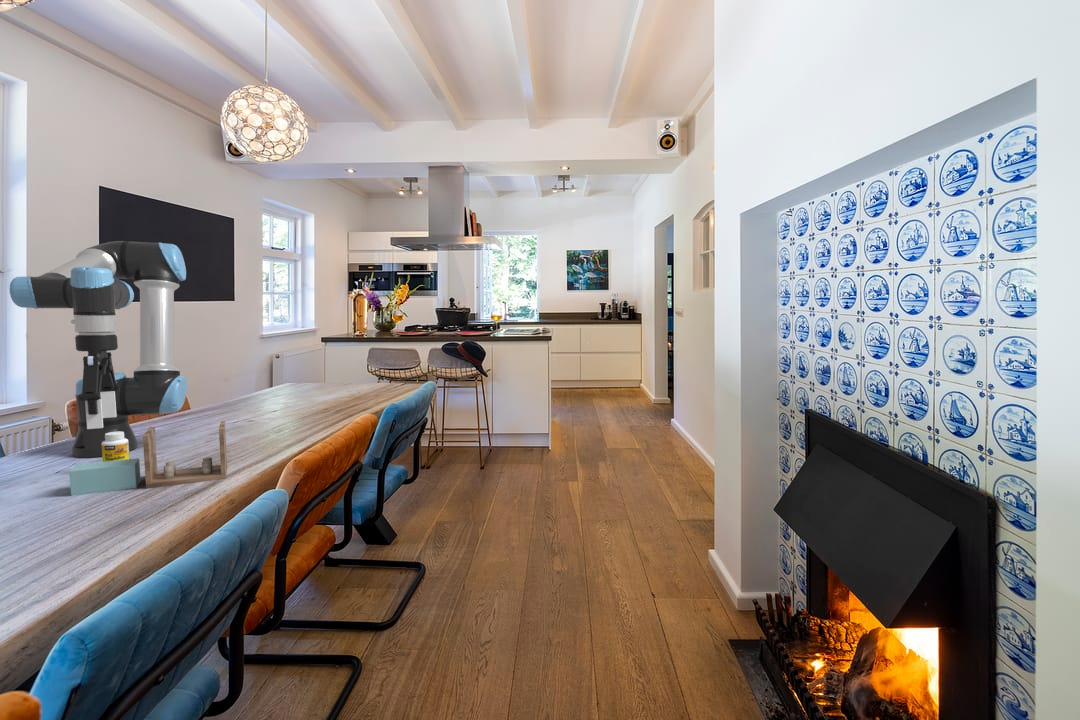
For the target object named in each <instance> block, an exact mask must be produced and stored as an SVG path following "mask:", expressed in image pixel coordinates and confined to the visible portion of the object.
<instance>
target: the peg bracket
mask: <svg viewBox="0 0 1080 720" xmlns="http://www.w3.org/2000/svg"><path fill="white" fill-rule="evenodd" d="M155 429H156V427H155V426H151V427H149V428H147V430H146V431H145V433H144V434H143V435H142V446H143V459H144V475H145V476H144V477H145V489H153V488H154V489H155V488H161V487H169V486H176V485H183V484H184V485H185V484H192V483H193V484H194V483H199V482H207V481H215V480H223V479H226V478H227V474H228V473H227V472H228V451H227V433H226V432H227V431H226V421H225V420H222V421H220V423H219V427H218V436H219V437H218V438H219V440H218V441H219V457H220V460H219V461H220V464H217V465H213V457H211V456H210V457H204V458H202V462H201V467H194V468H193V467H192V468H185V469H176V461H168V462H165V465H164V466H163V471H158V460H157V459H158V458H157V457H158V456H157V443H156V441H157V440H156V430H155Z"/></svg>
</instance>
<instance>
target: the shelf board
mask: <svg viewBox="0 0 1080 720" xmlns="http://www.w3.org/2000/svg"><path fill="white" fill-rule="evenodd" d="M140 465H141V464H140V458H139V457H137V458H129V459H126V460H117V461H107V462H103V461H100V462H89V463H79V464H76V465H74V467H72V468H71V469H70V470H69V472H68V473H69V484H70V496H71V497H73V496H74V497H75V496H81V495H89V494H91V495H92V494H98V493H106V492H113V491H114V492H115V491H122V490H128V489H135V488H137V487H138V485H139V484H140V482H141V480H142V479H141V478H142V477H141V466H140Z"/></svg>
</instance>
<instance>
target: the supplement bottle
mask: <svg viewBox="0 0 1080 720" xmlns="http://www.w3.org/2000/svg"><path fill="white" fill-rule="evenodd" d="M101 457H102V462H107V461H117V460H126V459H130V451H129V443H128V439H126V438H124V432H121V431H118V432H110V433H106V434H105V441H103V442H102V456H101Z"/></svg>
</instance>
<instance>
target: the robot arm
mask: <svg viewBox="0 0 1080 720" xmlns="http://www.w3.org/2000/svg"><path fill="white" fill-rule="evenodd" d="M120 279H123V280H133V285H135V287H137V288H138V289H139V366H137V368H136V369H134V370H133V377H127V375H126V373H125V372H117V373H116V372H115V370H114V366H113V365H114V364H113V360H112V353H111V352H110V351H116V350H118V348H119V345H118V335H117V334H115V333H117V331H118V327H117V326H118V325H117V316H116V310H121V309H123V308H127V307H128V306H129V305H130V304H132V303H133V300H134V298H135V293H134V291H133V288H132V287H131V285H130V284H129V283H127V282H126V281H123V280H120ZM186 279H187V268H186V263H185V260H184V256H183V252H182V251H181V249H180V248H179V247H178V245H176V244H173V243H164V242H159V241H158V242H149V241H148V242H147V241H143V242H142V241H126V240H116V241H115V240H114V241H107V242H105V243H99V244H96V245H93V246H90V247H87V248H84V249H83V250H81V251H79V252H78V253H77V255H76V257H75V258H74V259H71V260H70V261H67V262H65V263H64V264H61V265H60V266H58V267H55V268H54V269H50V270H49V271H46V273H43V274H41V275H39V276H31V275H28V276H16V277H14V278H13V279H12V280H11V281H10V284H9V295H10V298H11V300H12V302H13V304H14V305H16V306H17V307H19V308H23V309H26V308H27V309H28V308H29V309H35V310H38V309H72V310H73V318H74V319H71V320H70V323H71V324H72V325H74V332H75V333H77V334H76V336H74V340H75V341H74V342H75V350H76V351H78V352H87V356H84V355H83V356H82V357H83V358H82V361H83V370H82V378H81V379H80V380H78V381H76V383H75V394H74V395H75V403H76V413H77V415H76V416H77V424H78V429H77V432H76V436H75V439H74V441H73V445H72V448H71V449H72V451H71V453H72V456H73V457H76V458H99V457H102V442H103V441H105V434H106V433H110V432H118V431H121V432H124V438H126V439H128V443H129V452H131V451H133V450H136V449H137V448H138V439H137V437H136V435H135V433H134V431H133V429H132V427H131V426H130V422H129V416H144V415H145V416H147V415H165V414H174V413H178V412H179V411H181V409H182V408H183V406H184V404H185V401H186V396H187V390H188V384H187V383H188V381H187V378H186V377H185V376H184V375H181V371H180V369H179V368H177V366H175V313H174V312H175V307H174V306H175V305H174V304H175V303H174V302H175V297H174V296H175V295H174V294H175V291H176V290H178V289H179V288H180V282H183V281H185V280H186Z"/></svg>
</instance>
